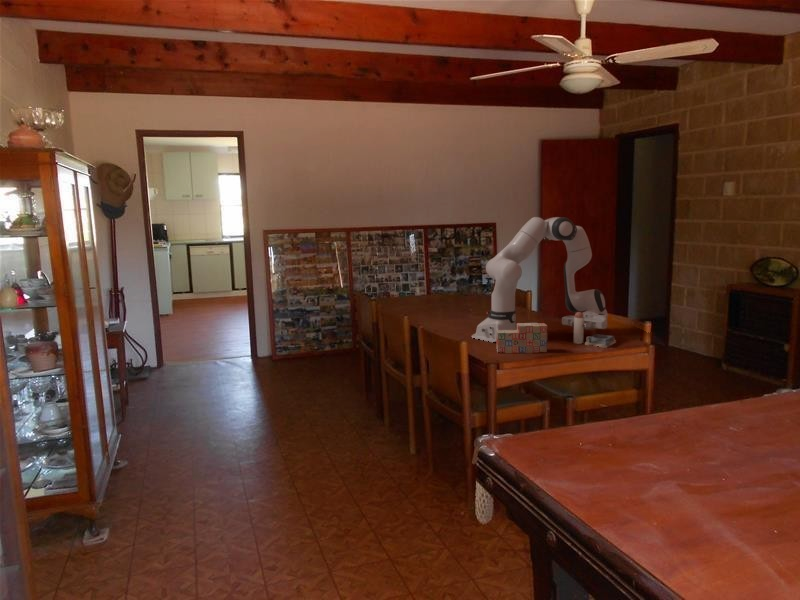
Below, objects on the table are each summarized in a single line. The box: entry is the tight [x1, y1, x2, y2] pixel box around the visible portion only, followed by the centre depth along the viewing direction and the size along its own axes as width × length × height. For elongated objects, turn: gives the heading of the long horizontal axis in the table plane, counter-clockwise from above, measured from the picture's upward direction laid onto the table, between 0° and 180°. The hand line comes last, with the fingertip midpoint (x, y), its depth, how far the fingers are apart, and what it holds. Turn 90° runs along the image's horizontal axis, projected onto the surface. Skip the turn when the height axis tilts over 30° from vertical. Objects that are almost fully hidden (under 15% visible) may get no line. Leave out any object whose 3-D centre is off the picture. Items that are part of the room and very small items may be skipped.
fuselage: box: [573, 311, 585, 345], centre depth 274 cm, size 4×4×14 cm
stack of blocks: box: [495, 322, 548, 354], centre depth 261 cm, size 21×6×12 cm, turn 87°
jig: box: [584, 333, 617, 349], centre depth 272 cm, size 10×12×4 cm
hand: (578, 325), depth 273 cm, fingers closed on fuselage, 4 cm apart
